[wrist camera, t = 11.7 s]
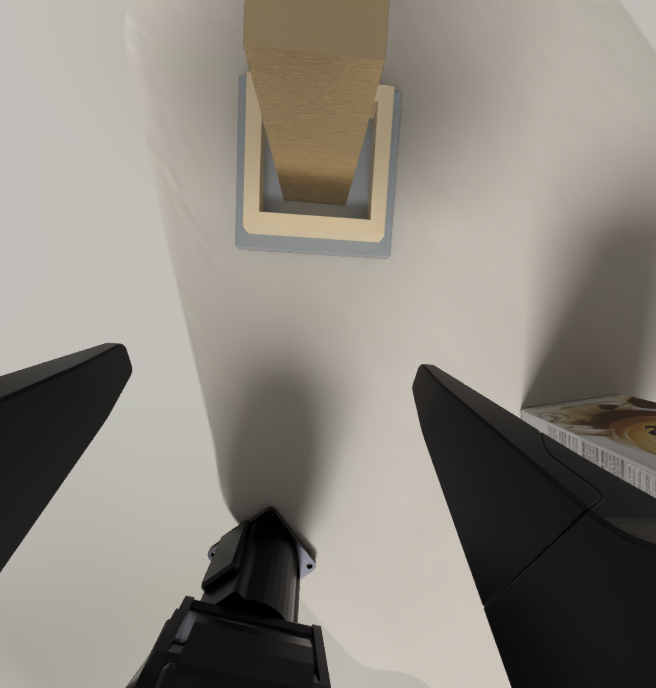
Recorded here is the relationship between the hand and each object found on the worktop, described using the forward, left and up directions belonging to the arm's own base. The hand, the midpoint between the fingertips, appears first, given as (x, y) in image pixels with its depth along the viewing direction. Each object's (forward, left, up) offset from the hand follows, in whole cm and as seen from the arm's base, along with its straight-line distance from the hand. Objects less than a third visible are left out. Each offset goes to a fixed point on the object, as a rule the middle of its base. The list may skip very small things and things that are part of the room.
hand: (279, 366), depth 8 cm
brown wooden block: (+9, -8, -12) cm, 17 cm away
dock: (+9, -8, -13) cm, 18 cm away
